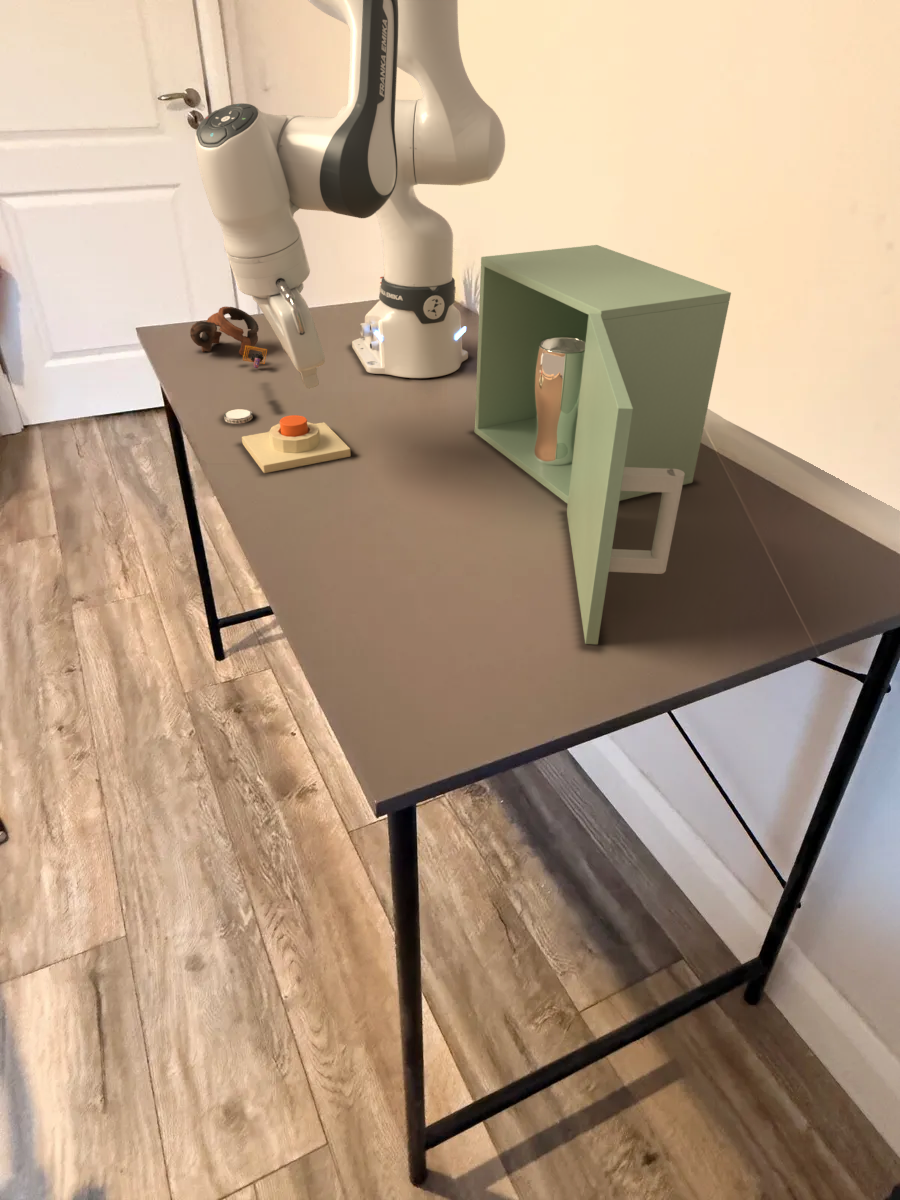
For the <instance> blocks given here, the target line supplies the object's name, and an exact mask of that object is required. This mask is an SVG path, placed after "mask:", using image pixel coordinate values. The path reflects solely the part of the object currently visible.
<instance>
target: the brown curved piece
mask: <svg viewBox="0 0 900 1200" xmlns="http://www.w3.org/2000/svg"><path fill="white" fill-rule="evenodd" d="M226 315H229V316H230V319H229V320H228V319H227V318H226ZM230 320H231V321H244V323H245V325H246V327H247V334H246V335H244V329H242V328H241V327H238V326H237V325H235V324H234V323H232V322H231V321H230ZM218 327H219V329H218ZM218 330H219V331H218ZM258 332H259V324H258V322H257V321H256V320H255V318H254V317H253V316H251V315H250V314H249V313H247V312H246V311H244V310H242V309H240V308H237V307H234V306H222V307H220V308H219V309H218V312H215V313H212V314H211V315H210V316H209V317H208V318H207V320H206V321H203V320H199V321H196V322H195V323H194V324H192V326H191V327H190V330H189V333H190V335H189V336H190V339H191V341H192V342H193V343H194V344H195V345H197V346H198V347H201V352H202V353H205V352H209V353H211V352H212V346H213V344H216V345H217V344H220V340H221V336H222V334H223V333H224V334H225V335H227V336H229V337H232V338H233V339H234V340H236V341H239V342H240V348H239V351H238V354H239V355H240V356H242V357H247V356H248V355H249V354H248V350H249V353H250V351H251V350H250V349H251V348H252V347H256V345H257V344H258V341H259V336H258ZM245 346H246V351H247V355H246V351H245ZM247 346H251V347H249V348H248V350H247ZM244 351H245V356H244Z"/></svg>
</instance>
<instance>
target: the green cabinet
mask: <svg viewBox="0 0 900 1200" xmlns="http://www.w3.org/2000/svg"><path fill="white" fill-rule="evenodd" d="M479 276H480V278H479V303H478V330H477V331H478V332H477V334H478V335H477V354H476V355H477V358H476V384H475V385H476V386H475V409H474V410H475V413H474V433H475V434H476V435H477V436H479V438H481V439H483V440H484V441H486V442H487V443H488V444H489V445H490V446H492V447H493V448H494V449H496V450H497V451H498V452H500V454H502V455H503V456H504V457H506V458H507V459H508V460H510V462H512V463H514V464H515V465H516V466H518V467H519V468H520V469H521V470H523V471H524V472H526V474H528V475H529V476H530V477H532V478H533V479H535V481H537V482H538V483H540V484H541V485H542V486H544V487H545V489H547V490H548V491H550V492H551V493H553V494H554V496H557V497H558V498H559V499H560V500H561V501H563V502H564V503H566V504H567V505H568V497H569V488H570V479H571V470H572V463H569V464H566V465H548V464H543V463H540V462H538V461H536V460H535V459H534V458H533V457H532V455H531V451H532V447H533V443H534V439H535V435H536V414H535V404H534V390H533V381H534V368H535V361H536V355H537V349H538V342H539V341H540V340H542V339H544V338H548V337H556V336H565V337H574V338H578V339H582V340H584V341H586V335H587V326H588V317H589V313H594V314H600V315H601V318H602V321H603V323H604V326H605V329H606V332H607V335H608V338H609V341H610V344H611V347H612V349H613V352H614V355H615V358H616V361H617V364H618V367H619V370H620V373H621V375H622V378H623V381H624V384H625V387H626V390H627V393H628V396H629V399H630V401H631V404H632V407H633V413H632V420H631V426H630V433H629V440H628V446H627V453H626V460H625V466H624V467H637V468H664V469H679V470H681V471H683V472H684V474H685V475H684V480H683V485H682V486H685V485H688V484H692V483H693V482H694V477H695V472H696V467H697V462H698V458H699V451H700V447H701V442H702V438H703V433H704V428H705V423H706V417H707V413H708V408H709V405H710V404H709V403H710V398H711V393H712V388H713V383H714V379H715V373H716V369H717V364H718V359H719V354H720V350H721V349H720V348H721V345H722V338H723V335H724V330H725V324H726V320H727V316H728V315H727V314H728V310H729V305H730V301H731V295H732V292H731V291H728V290H725V289H723V288H719V287H717V286H714V285H711V284H708V283H705V282H703V281H700V280H697V279H694V278H691V277H688V276H686V275H683V274H680V273H677V272H674V271H672V270H668V269H665V268H663V267H660V266H657V265H655V264H652V263H649V262H646V261H643V260H641V259H637V258H635V257H633V256H629V255H627V254H624V253H621V252H619V251H615V250H612V249H609V248H607V247H604V246H601V245H598V244H592V245H581V246H573V247H563V248H554V249H543V250H535V251H534V250H533V251H523V252H514V253H507V254H505V253H504V254H495V255H487V256H480V275H479ZM653 493H654V492H639V491H621V493H620V500H619V502H621V501H625V500H628V499H632V498H637V497H640V496H644V495H649V494H653Z"/></svg>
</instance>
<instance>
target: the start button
mask: <svg viewBox="0 0 900 1200" xmlns="http://www.w3.org/2000/svg"><path fill="white" fill-rule="evenodd" d="M307 422H308V419H307V418H306V417H305V416H303V415H295V414H294V415H293V414H291V415H286V416H284V417H282V418H280V420H279V423H280V429H281V434H282V435H284V436H287V437H297V436H302V435H305V434H307V433H308V426H307Z"/></svg>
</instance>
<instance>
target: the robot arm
mask: <svg viewBox="0 0 900 1200" xmlns="http://www.w3.org/2000/svg"><path fill="white" fill-rule="evenodd" d="M307 1H308V2H309V3H310V4H311V5H312V6H314V7H315V8H316V9H318V10H319V11H320V12H323V13H324V14H326V15H327V16H329V17H331V18H334V19H336V20H338V21H339V22H342V23H343V24H345V25H347V26H348V30H349V62H348V63H349V64H348V66H349V67H348V87H347V89H348V90H347V104H344V105H343V106H342V107H341V108H340V109H339V111H338V112H337V114H336V116H306V115H299V114H298V115H292V114H273V113H266V112H263V111H261V110H260V108H258V107H257V106H256V105H253V104H251V103H242V102H241V103H234V104H228V105H226V106H224V107H222V108H218V109H216V110H214V111H212V112H210V113H209V114H208V115H207V116H206V117H205V118H204V119H203V120H202V121H201V122H200V123H199V124H198V126H197V127H196V130H195V138H194V139H195V140H194V142H195V153H196V160H197V165H198V169H199V173H200V177H201V181H202V185H203V188H204V192H205V195H206V198H207V201H208V203H209V206H210V209H211V213H212V215H213V216H214V218H215V219H216V220H217V222H218V223H219V226H220V228H221V231H222V236H223V246H224V250H225V253H226V257H227V259H228V262H229V265H230V268H231V271H232V274H233V277H234V279H235V284H236V286H237V288H238V290H239V291H240V292H241V293H242V294H244V295H247V296H250V297H251V298H252V300H253V301H254V302H256V303H257V305H258V307H259V309H260V311H261V312H262V314H263V315H264V318H265V319H266V321H267V322H268V324H269V326H270V327H271V329H272V330H273V332H274V334H275V336H276V337H277V339H278V341H279V342H280V344H281V347H282V349H283V351H284V353H285V354H286V355H287V356H288V358H289V359H290V361H291V363H292V365H293V366H294V368H295V369H296V371H297V372H299V375H300V378H301V381H302V384H303V385H304V387H305V388H306V389H312V388H315V387H317V386H319V384H320V381H319V378H318V374H317V368H319V367H322V366H323V365H324V364H325V362H326V361H325V360H326V357H325V353H324V349H323V346H322V342H321V339H320V336H319V333H318V330H317V327H316V323H315V320H314V317H313V315H312V313H311V310H310V307H309V305H308V303H307V302H306V300H305V299H304V297H303V295H302V294H301V293H302V292H303V290H304V282H305V281H306V280H307V279H308V277H309V276H310V273H311V267H310V264H309V261H308V257H307V253H306V250H305V246H304V242H303V238H302V235H301V231H300V228H299V225H298V224H297V222H296V220H295V218H294V214H295V213H297V212H298V211H299V210H306V211H318V212H331V213H335V214H338V215H343V216H347V217H353V218H357V219H367V218H370V217H371V216H373V215H374V214H375V216H376V219H377V222H378V226H379V230H380V239H381V247H382V259H383V276H380V277H379V279H381V281H380V283H379V284H380V285H379V294H378V299H379V300H378V301H377V303H376V304H374V305H373V307H372V308H371V309H369V311H368V312H366V314H365V316H364V322H361V323H360V324H359V333H360V337H359V338H356V339H354V340H352V342H351V347H352V349H353V351H354V353H355V354H356V356H357V358H358V360H359V361H360V363H361V365H362V367H363V368H364V370H365V371H366V373H369V374H376V375H389V376H393V377H398V378H409V379H430V378H438V377H444V376H446V375H450V374H452V373H454V372H456V371H457V370H459V369H460V367H461V366H462V363H463V362H465V361H467V360H468V358H469V352H468V351H467V350H465V349H463V340H462V339H463V337H462V336H463V335H464V333H466V331H467V326H463V327H462V318H461V317H462V315H461V311H460V310H459V309H458V308H457V307H456V306H455V305H454V303H455V302H456V293H457V292H456V291H457V290H456V279H455V278H454V276H453V267H454V266H453V263H454V261H453V260H454V233H453V229H452V226H451V224H450V223H449V221H448V220H447V219H446V218H445V217H443V215H441V214H440V213H438V211H435V210H434V209H432V208H430V207H428V206H426V205H425V204H423V203H422V202H421V201H420V200H419V198H418V197H417V195H416V192H415V189H414V186H418V185H435V186H436V185H437V186H460V187H461V186H465V185H472V184H477V183H481V182H482V183H483V182H486V181H487V182H488V181H489V180H491V178H493V177H494V176H495V174H496V173H497V171H498V170H499V168H500V166H501V165H502V162H503V159H504V156H505V150H506V134H505V130H504V127H503V124H502V121H501V119H500V117H499V115H498V114H497V113H496V111H495V110H494V109H493V108H492V107H491V106H490V105H489V104H488V103H487V102H486V101H485V100H484V99H483V98H482V97H481V96H480V95H479V93H478V92H477V90H476V88H475V87H474V85H473V84H472V82H471V80H470V78H469V76H468V74H467V71H466V69H465V65H464V62H463V58H462V54H461V47H460V35H459V13H458V12H459V10H458V9H459V8H458V7H459V3H458V2H459V1H458V0H307ZM398 68H399V70H401V71H403V72H405V73H407V74H408V75H410V76H411V77H412V78H414V79H415V80H416V81H417V83H419V86H420V89H421V93H422V97H421V98H420V99H397V98H396V97H397V79H398V78H397V75H398Z"/></svg>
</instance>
